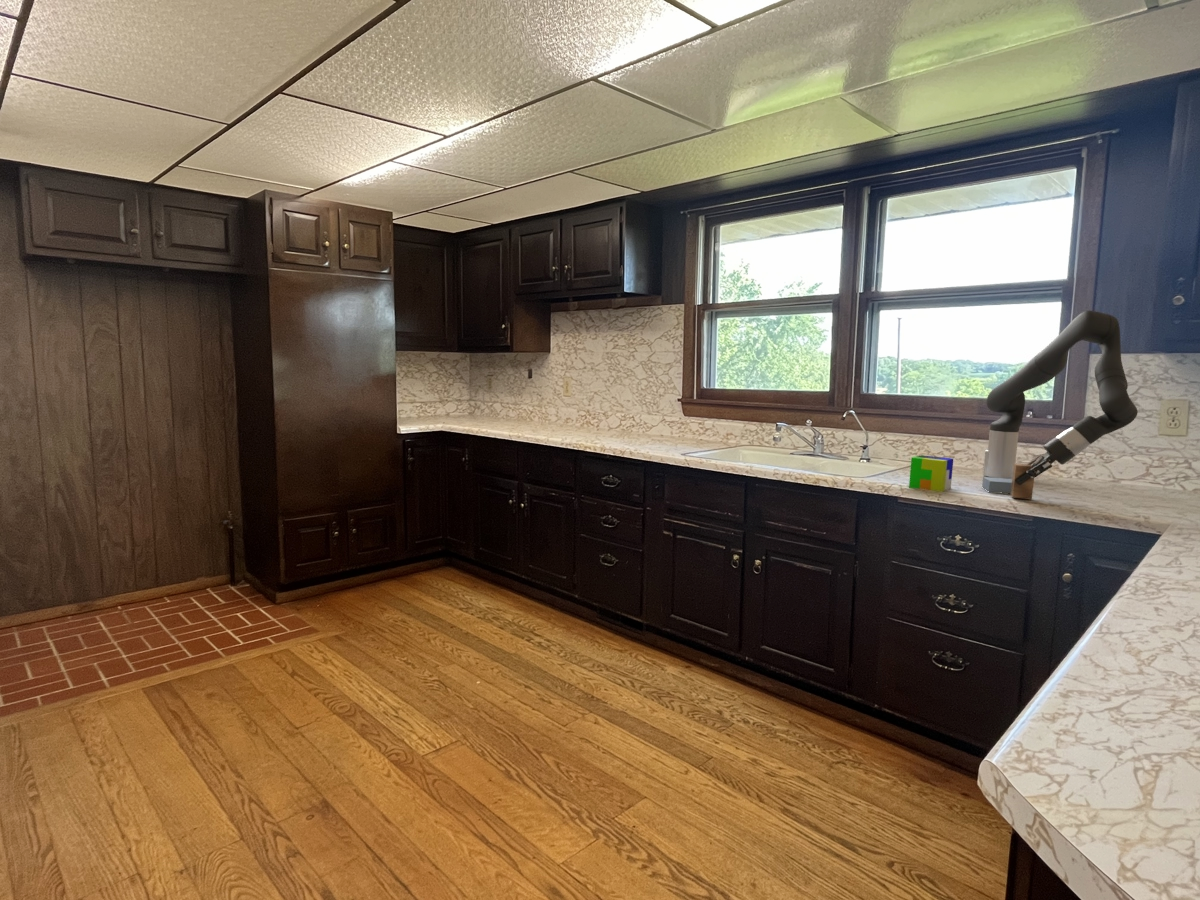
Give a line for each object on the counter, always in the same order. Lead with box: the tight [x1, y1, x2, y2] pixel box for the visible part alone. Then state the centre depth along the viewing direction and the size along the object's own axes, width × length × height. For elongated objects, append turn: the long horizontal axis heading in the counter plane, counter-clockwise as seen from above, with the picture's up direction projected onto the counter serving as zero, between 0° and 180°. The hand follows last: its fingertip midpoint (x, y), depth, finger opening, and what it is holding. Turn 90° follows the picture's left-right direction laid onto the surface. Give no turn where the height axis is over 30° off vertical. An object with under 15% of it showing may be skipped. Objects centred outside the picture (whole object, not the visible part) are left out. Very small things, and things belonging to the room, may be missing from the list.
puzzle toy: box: [908, 455, 954, 493], centre depth 223 cm, size 10×10×10 cm
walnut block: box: [1010, 462, 1035, 500], centre depth 207 cm, size 5×5×10 cm
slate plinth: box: [981, 476, 1012, 494], centre depth 220 cm, size 9×9×4 cm
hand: (1015, 481), depth 207 cm, fingers closed on walnut block, 5 cm apart
